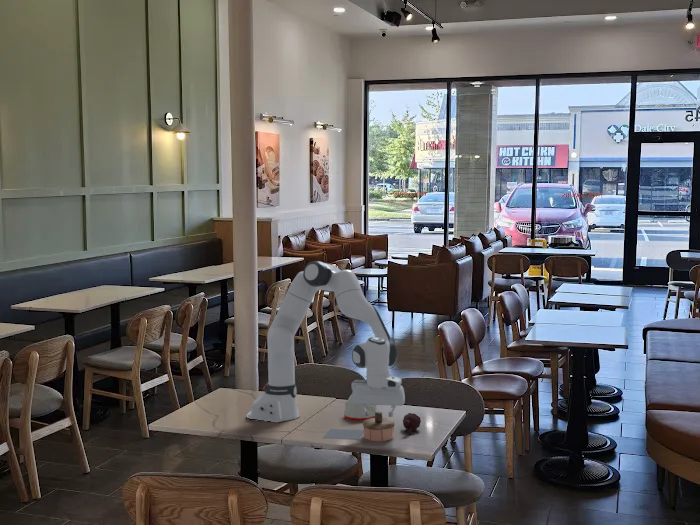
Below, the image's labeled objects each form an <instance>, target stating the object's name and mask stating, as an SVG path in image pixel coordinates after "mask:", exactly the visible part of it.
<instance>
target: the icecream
mask: <svg viewBox="0 0 700 525" xmlns="http://www.w3.org/2000/svg"><path fill="white" fill-rule="evenodd" d="M403 416H404V417H403V418H402V426H403V428H404V429H405V430H407V431H406V434H407V436H408V435H411V434H412V433H413V431H415V430H417V429H418V428H420V427H421V422H422V420H421V417H420V415H419V416H418V415H417V414H416V413H411V412H409V413H407V414H405V415H403Z"/></svg>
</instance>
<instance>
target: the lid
mask: <svg viewBox="0 0 700 525" xmlns="http://www.w3.org/2000/svg"><path fill="white" fill-rule="evenodd" d="M362 426H363V428H364V427H365V428H368V429H373V430H383V429H389V428H392V427H394V428H395V420H393V419H392V418H387V417H383V412H381V411H377V412H375V418H370V419H367V420H364V421H363V422H362Z"/></svg>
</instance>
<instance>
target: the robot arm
mask: <svg viewBox="0 0 700 525" xmlns="http://www.w3.org/2000/svg"><path fill="white" fill-rule="evenodd" d="M318 291H322V292H325V293H326V292H328V293H334V297H335V300H336V304H337V306H338V310H340V312H341V314H343V315H344V316H346V317H348V318H350V319H355V320H359V321H361V322H364V323H366V324H367V325H368V326H369V327H370V328H371V331H372V332H373V335H374V336H372V337H368V338H367V340H366V341H364V342H362V343H358V344H356V345H355V346H354V347H353V349H352V351H351V360H352V363H353V364H354V365H355V366H356V367H357V368H360V369H366V372H365V377H366V378H365V379H355V380H353V381H352V382H351V384H350V385H351V390H352V393H351V395H352V402H353V403H354V404H361V408H362V409H363V411H364V416H368V415H369V413H368V412H369V410H366V408H365V406H366V404H367V405H376V406H391V410H389V411H388V417H389V418H393V417H394V411H395V409H396V407H397V406H398V407H402V406H404V404H405V402H406V396H405V389H404V387H403V385H401V384H402V379H401V378H400V377H397V376H394V375H392V374H391V373H390V369H389V368H390V367H392V366H393V365H394V364H395V363H396V362H397V360H398V358H399V348H398V347H397V345H396V344H395V342H394V341H393V339H392V337H391V335H390V334H389V332H388V329H387V328H386V326H385V323H384V322H383V320H382V317H381V314H380V313H379V311H378V310H377V308H376V307H375V305H373V304H371V303H370V302H369V300H367V298H366V297H365V295H364V293H363V289H362V285H361V284H360V282H359V279H358V277H357V276H356V274H355V273H354V272H353V271H352V270H350V269H342V268H339V267H337V266H335V265H334V264H330V263H326V262H323V261H320V260H314V261H313V260H312V261H310V262H308V263H307V264H306V265H305V267H304V268H303V270H302V271H299V272H298V273H297V274H296V276H295V277H294V279H293V280H292V282H291V283H290V285H289V286H288V289H287V291H286V293H285V296H284V298H283V300H282V302H281V304H280V307H279V309H278V311H277V313H276V315H275V317H274V319H273V321H272V322H271V324H270V327H269V328H268V331H267V335H266V336H267V338H266V339H267V340H266V342H267V370H268V382H267V383H266V384H265V385H264V386H263V390H264V392H263V393H262V394H261V395H260V396H259V397H257V398H256V399H255V400H254V401H253V403H252V404H251V409H250V410H251V411H249V412H248V413H247V414H246V417H247V418H251V419H258V420H264V421H263V422H267V421H271V422H270V423H279V422H285V421H291V420H295V419H297V418H299V417H300V411H299V408H298V403H297V384H296V381H295V380H296V379H295V378H296V377H295V335H296V334H297V332H298V329H299V328H300V326H301V324H302V322H303V320H305V317H306V315H307V312H308V310H309V308H310V306H311V305H312V304H311V303H312V301H313V299H314V296H315V295H316V293H317V292H318ZM246 417H245V418H246ZM258 420H257V421H258Z"/></svg>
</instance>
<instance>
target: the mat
mask: <svg viewBox="0 0 700 525" xmlns="http://www.w3.org/2000/svg"><path fill="white" fill-rule="evenodd" d="M363 435H364V429H363V430H362V429H347V428H342V429H341V428H330V429H329V430H328V431H327V432H326V433H325V434H324V436H323V437H322V439H339V440H354V441H355V440H357V441H358V440H360V439H361V436H363Z"/></svg>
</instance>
